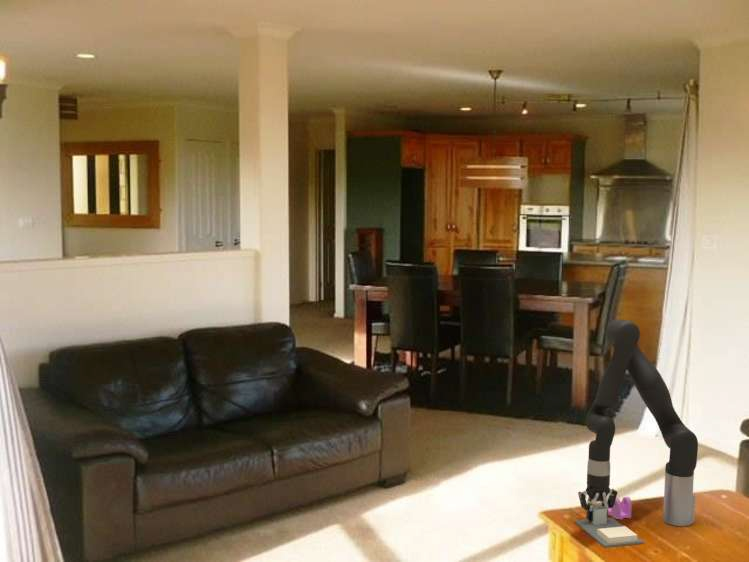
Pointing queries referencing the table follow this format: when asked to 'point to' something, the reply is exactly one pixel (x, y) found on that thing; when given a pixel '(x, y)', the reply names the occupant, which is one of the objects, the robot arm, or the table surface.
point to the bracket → (621, 512)
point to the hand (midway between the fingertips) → (596, 520)
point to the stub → (599, 514)
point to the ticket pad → (608, 524)
